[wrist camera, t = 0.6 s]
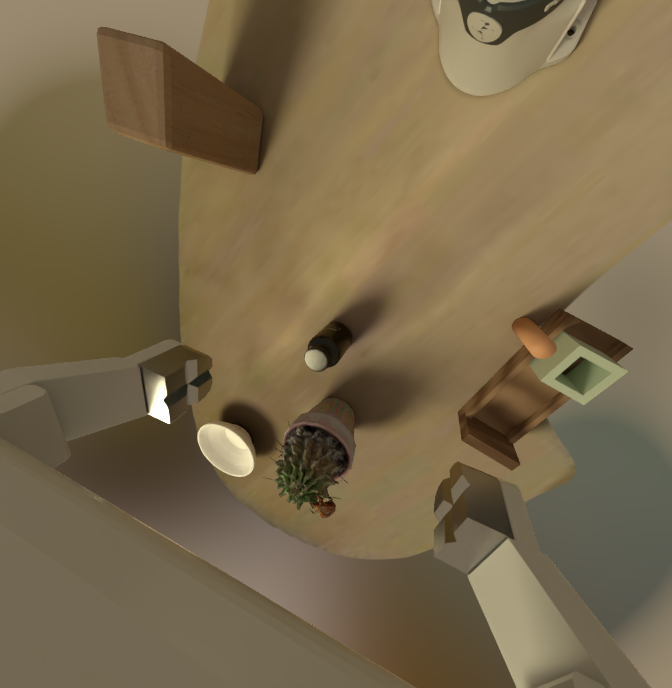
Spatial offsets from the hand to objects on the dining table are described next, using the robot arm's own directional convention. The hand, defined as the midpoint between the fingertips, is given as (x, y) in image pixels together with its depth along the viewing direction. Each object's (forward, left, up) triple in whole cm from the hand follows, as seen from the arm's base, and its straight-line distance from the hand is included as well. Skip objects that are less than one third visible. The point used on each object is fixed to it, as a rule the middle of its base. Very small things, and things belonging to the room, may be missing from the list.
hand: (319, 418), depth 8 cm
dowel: (+1, +22, -45) cm, 50 cm away
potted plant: (+41, +2, -45) cm, 61 cm away
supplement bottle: (+21, -6, -45) cm, 50 cm away
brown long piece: (+9, +29, -45) cm, 54 cm away
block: (-4, -39, -45) cm, 59 cm away
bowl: (+69, -19, -45) cm, 84 cm away
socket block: (+2, +29, -42) cm, 51 cm away
